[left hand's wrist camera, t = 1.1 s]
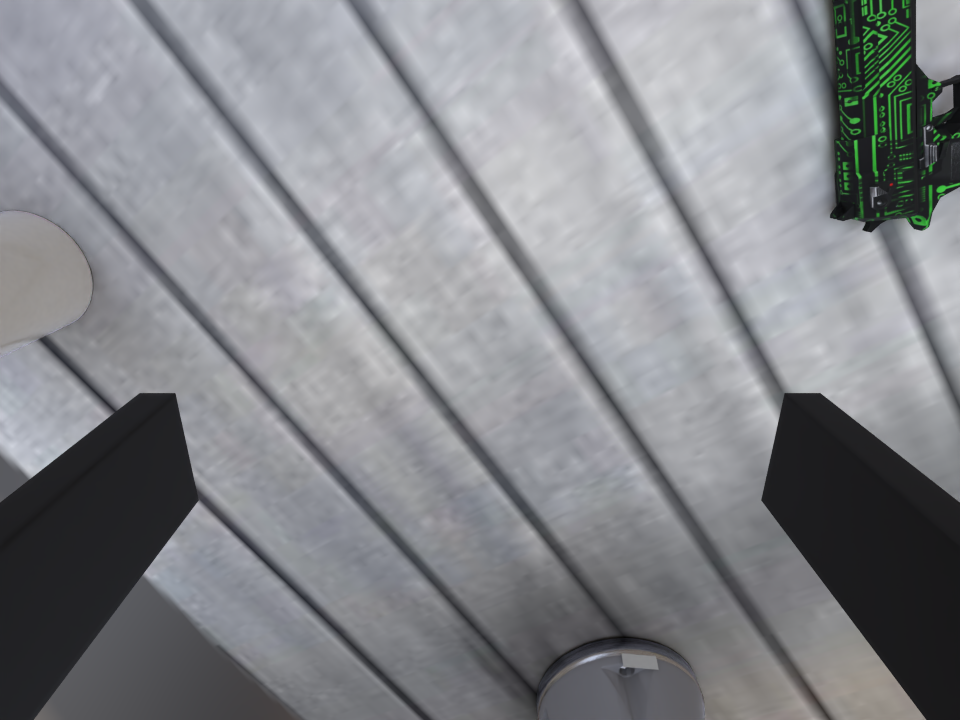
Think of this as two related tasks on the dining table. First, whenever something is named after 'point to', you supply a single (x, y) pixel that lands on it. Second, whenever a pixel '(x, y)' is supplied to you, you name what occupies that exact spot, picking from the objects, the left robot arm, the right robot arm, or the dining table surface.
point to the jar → (38, 280)
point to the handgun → (889, 119)
